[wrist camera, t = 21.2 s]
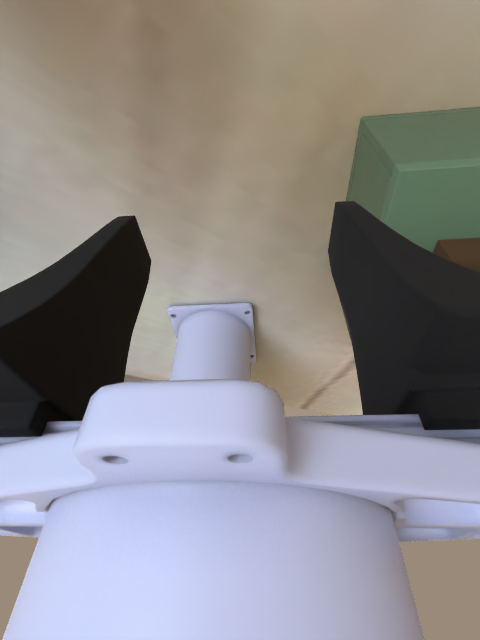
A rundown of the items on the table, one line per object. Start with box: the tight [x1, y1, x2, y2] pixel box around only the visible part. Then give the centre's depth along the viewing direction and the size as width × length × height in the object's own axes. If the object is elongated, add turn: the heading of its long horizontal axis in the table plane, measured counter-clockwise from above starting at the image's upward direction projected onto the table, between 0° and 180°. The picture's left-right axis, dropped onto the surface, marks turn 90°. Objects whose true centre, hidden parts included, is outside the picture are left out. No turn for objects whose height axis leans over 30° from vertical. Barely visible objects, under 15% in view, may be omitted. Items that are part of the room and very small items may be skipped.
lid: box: [349, 158, 480, 339], centre depth 17 cm, size 12×12×1 cm
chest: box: [340, 107, 480, 331], centre depth 20 cm, size 11×12×6 cm
